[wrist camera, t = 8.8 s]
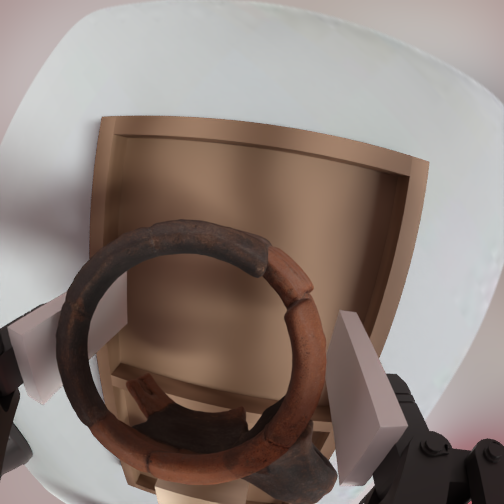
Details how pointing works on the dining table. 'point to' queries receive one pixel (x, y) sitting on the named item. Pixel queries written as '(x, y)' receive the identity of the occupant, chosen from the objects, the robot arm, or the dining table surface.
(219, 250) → the pottery mug
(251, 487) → the walnut tray
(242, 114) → the dining table surface
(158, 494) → the beech block
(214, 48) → the dining table surface
